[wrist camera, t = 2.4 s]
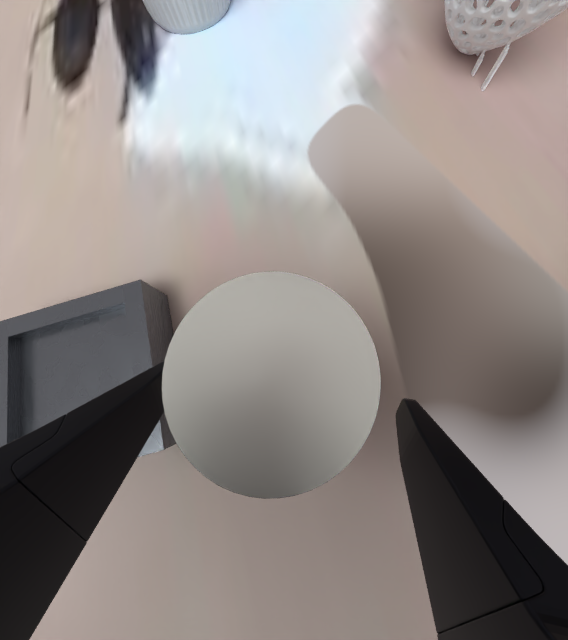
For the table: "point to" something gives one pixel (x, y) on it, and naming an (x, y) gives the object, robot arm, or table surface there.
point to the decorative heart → (485, 37)
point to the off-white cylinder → (271, 384)
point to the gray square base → (81, 356)
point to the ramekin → (186, 14)
